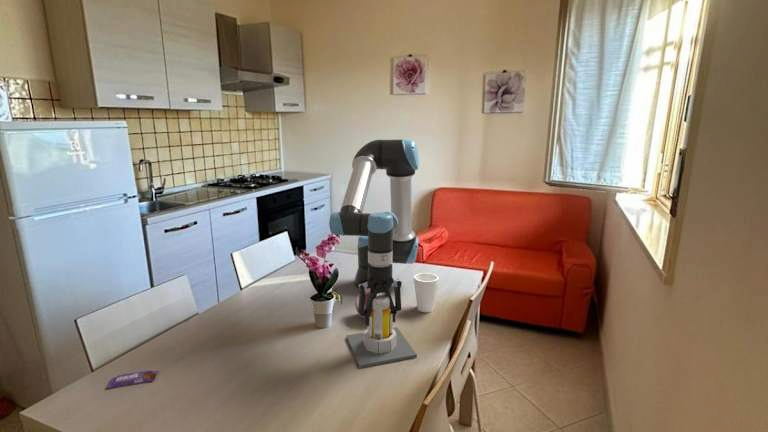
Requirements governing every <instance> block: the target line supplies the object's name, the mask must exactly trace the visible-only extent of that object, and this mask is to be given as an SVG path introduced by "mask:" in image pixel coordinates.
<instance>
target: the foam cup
mask: <svg viewBox="0 0 768 432" xmlns="http://www.w3.org/2000/svg"><path fill="white" fill-rule="evenodd" d="M439 281H440V280H439V276H438V275H437V274H435V273H431V272H421V273H416V274H414V276H413V284H414V292H415V301H416V308H417V310H418V311H420V312H421V313H432V312H433V311H434V310H435V309H434V308H435V303H436V297H437V291H438V286H439Z"/></svg>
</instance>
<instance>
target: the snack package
mask: <svg viewBox="0 0 768 432" xmlns="http://www.w3.org/2000/svg"><path fill="white" fill-rule="evenodd" d="M157 374H158V370H151V369H150V370H143V371H136V372H129V373H124V374H119V375H117V376H115V377H112V378H111V380H110V381H109V383H108V385H107V386H106V389H115V388H119V387H120V388H121V387H127V386H133V385H139V384H144V383H150V382H153V381H154V382H155V378H156V377H157Z"/></svg>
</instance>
